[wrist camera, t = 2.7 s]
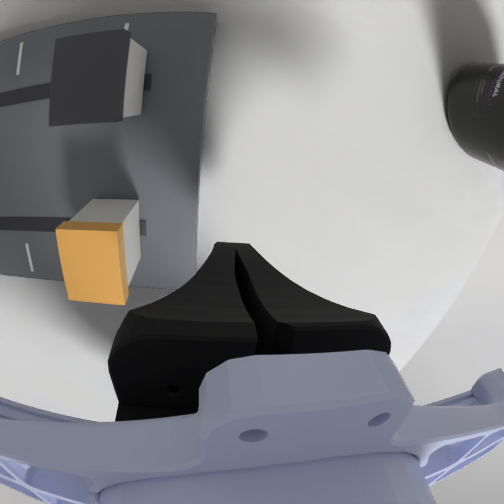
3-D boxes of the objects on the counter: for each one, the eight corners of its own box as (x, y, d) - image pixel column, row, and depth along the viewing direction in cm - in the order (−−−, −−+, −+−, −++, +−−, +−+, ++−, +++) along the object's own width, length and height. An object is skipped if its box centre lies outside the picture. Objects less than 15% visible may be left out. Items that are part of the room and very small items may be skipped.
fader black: (143, 116, 12) (116, 122, 8) (90, 118, 12) (48, 126, 8) (149, 48, 11) (125, 28, 7) (95, 52, 10) (55, 38, 7)
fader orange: (142, 258, 15) (124, 305, 12) (96, 255, 15) (68, 300, 11) (140, 197, 14) (117, 231, 10) (91, 196, 13) (55, 229, 10)
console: (195, 275, 18) (194, 290, 16) (-47, 257, 15) (-58, 266, 13) (216, 21, 12) (216, 12, 10) (-63, 74, 9) (-77, 76, 7)
